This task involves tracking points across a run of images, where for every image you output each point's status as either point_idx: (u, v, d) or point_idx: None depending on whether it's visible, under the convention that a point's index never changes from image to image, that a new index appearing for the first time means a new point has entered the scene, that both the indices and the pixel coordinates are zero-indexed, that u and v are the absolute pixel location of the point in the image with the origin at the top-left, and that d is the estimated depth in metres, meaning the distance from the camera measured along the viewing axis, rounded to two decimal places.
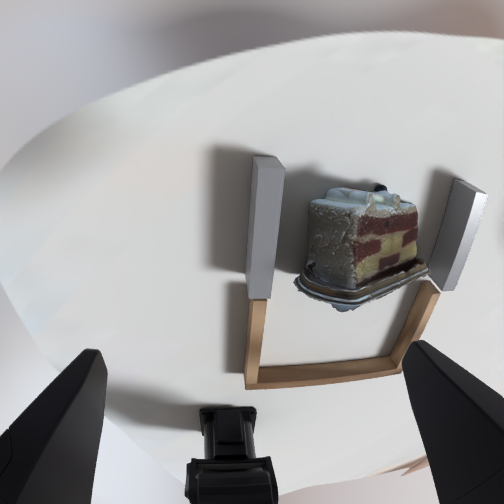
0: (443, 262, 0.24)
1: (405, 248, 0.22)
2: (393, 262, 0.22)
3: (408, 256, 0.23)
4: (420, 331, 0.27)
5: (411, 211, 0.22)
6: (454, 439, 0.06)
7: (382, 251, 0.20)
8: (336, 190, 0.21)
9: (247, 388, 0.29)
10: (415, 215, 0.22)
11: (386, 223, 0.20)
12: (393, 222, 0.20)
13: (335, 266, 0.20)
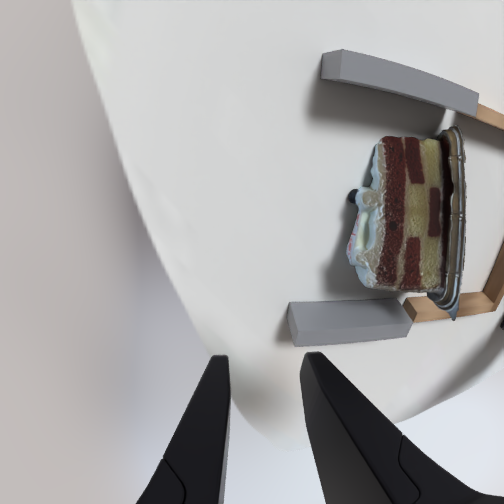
0: (438, 105, 0.15)
1: (427, 173, 0.17)
2: (438, 200, 0.17)
3: (436, 165, 0.17)
4: None
5: (384, 163, 0.17)
6: (339, 473, 0.06)
7: (421, 230, 0.17)
8: (348, 257, 0.20)
9: (494, 309, 0.24)
10: (389, 150, 0.17)
11: (392, 227, 0.17)
12: (393, 211, 0.17)
13: None
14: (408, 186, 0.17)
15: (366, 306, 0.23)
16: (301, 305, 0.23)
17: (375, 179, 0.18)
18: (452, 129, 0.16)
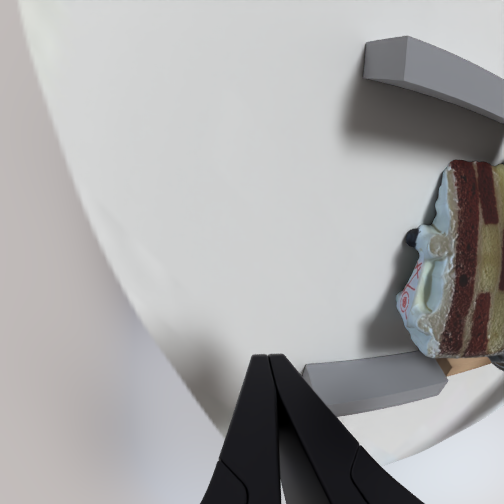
0: None
1: (501, 210, 0.12)
2: None
3: None
4: None
5: (455, 198, 0.12)
6: (294, 480, 0.05)
7: (493, 284, 0.12)
8: (400, 312, 0.15)
9: None
10: (461, 179, 0.12)
11: (462, 283, 0.12)
12: (465, 261, 0.12)
13: None
14: (481, 228, 0.12)
15: (396, 364, 0.18)
16: (320, 368, 0.17)
17: (443, 217, 0.12)
18: None
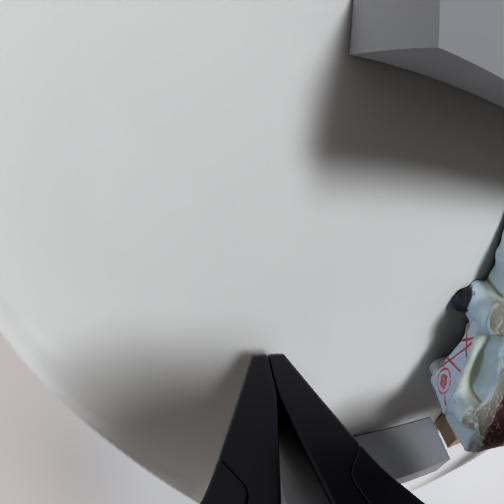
0: None
1: None
2: None
3: None
4: None
5: None
6: (294, 480, 0.05)
7: None
8: (435, 388, 0.10)
9: None
10: None
11: None
12: None
13: None
14: None
15: (387, 442, 0.13)
16: None
17: None
18: None
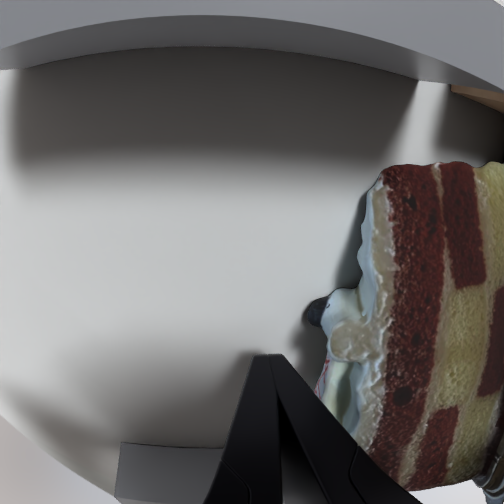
0: (372, 54, 0.04)
1: (493, 254, 0.06)
2: None
3: None
4: None
5: (389, 246, 0.07)
6: (293, 480, 0.05)
7: (466, 391, 0.06)
8: None
9: None
10: (404, 205, 0.07)
11: (400, 400, 0.07)
12: (407, 366, 0.06)
13: None
14: (448, 297, 0.06)
15: None
16: (137, 450, 0.12)
17: (367, 283, 0.07)
18: None
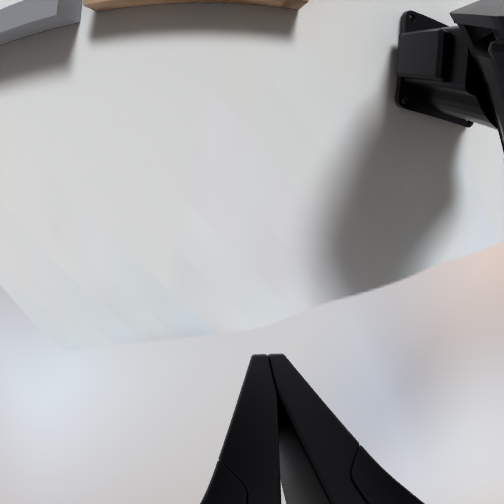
0: None
1: None
2: None
3: None
4: None
5: None
6: (294, 480, 0.05)
7: None
8: None
9: None
10: None
11: None
12: None
13: None
14: None
15: None
16: None
17: None
18: None
